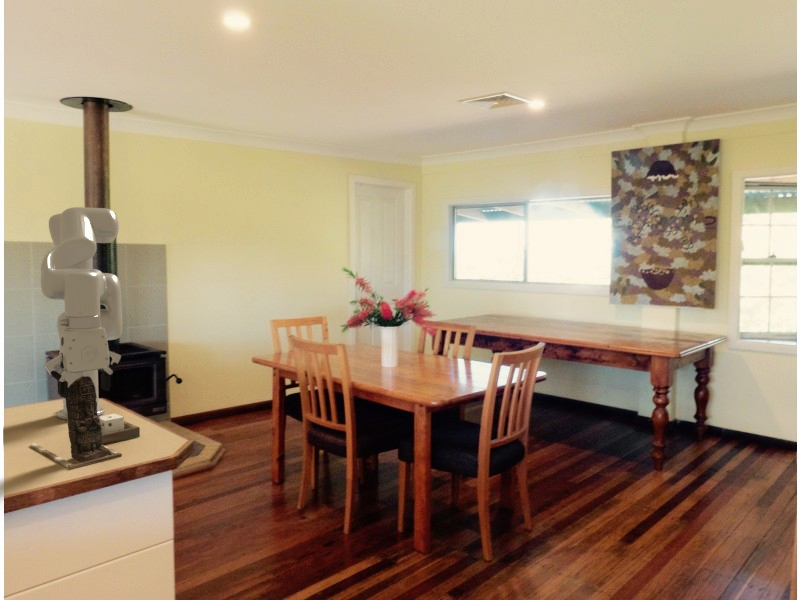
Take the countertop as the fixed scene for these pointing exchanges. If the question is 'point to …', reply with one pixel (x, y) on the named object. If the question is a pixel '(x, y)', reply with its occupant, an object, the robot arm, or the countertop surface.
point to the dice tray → (121, 434)
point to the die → (111, 423)
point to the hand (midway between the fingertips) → (85, 393)
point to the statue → (84, 421)
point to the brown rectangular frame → (70, 466)
